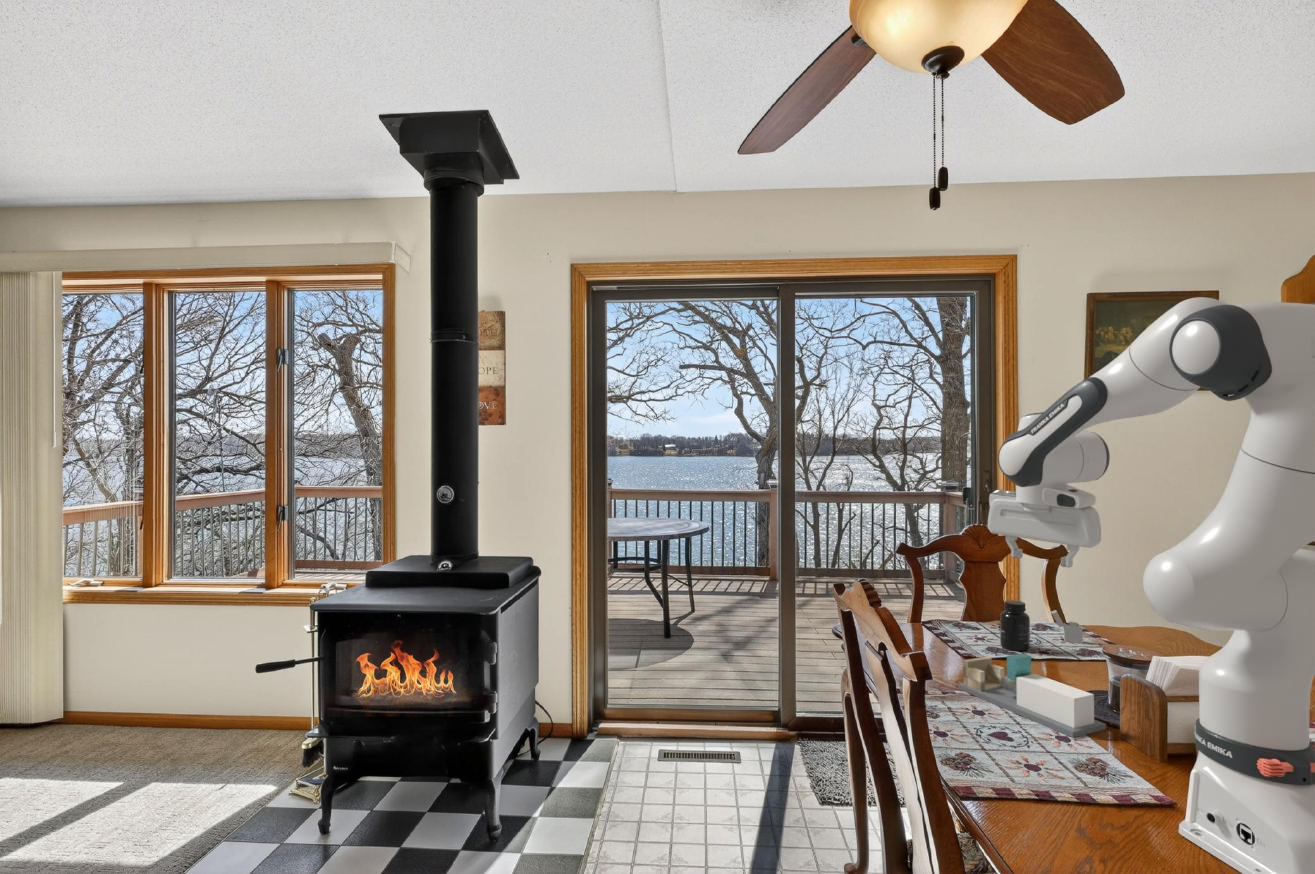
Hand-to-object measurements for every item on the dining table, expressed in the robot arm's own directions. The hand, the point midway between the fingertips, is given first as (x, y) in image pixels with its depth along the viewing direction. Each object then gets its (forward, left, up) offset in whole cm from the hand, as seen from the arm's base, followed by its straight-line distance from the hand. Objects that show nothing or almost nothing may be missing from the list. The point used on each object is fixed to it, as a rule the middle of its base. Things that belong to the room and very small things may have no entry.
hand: (1041, 562), depth 131 cm
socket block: (+11, +7, -29) cm, 31 cm away
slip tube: (-1, +1, -28) cm, 28 cm away
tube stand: (+2, +2, -30) cm, 30 cm away
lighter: (+49, -32, -30) cm, 66 cm away
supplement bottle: (+42, -15, -30) cm, 53 cm away
